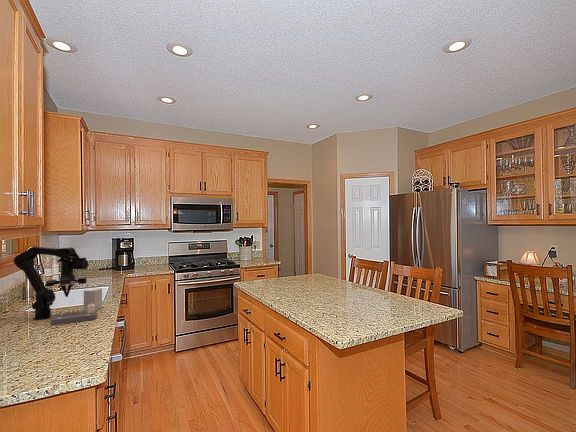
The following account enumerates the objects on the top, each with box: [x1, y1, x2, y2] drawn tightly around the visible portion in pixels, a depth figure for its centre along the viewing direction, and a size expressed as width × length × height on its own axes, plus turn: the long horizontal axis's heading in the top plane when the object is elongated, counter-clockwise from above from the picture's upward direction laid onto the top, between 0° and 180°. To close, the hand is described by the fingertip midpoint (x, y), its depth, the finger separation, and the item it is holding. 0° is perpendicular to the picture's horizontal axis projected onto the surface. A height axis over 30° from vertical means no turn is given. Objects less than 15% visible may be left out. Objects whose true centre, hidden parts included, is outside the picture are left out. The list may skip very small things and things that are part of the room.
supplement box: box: [83, 287, 103, 311], centre depth 194 cm, size 7×7×13 cm
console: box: [50, 310, 98, 326], centre depth 173 cm, size 20×12×3 cm, turn 118°
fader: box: [88, 303, 95, 313], centre depth 177 cm, size 3×5×4 cm, turn 28°
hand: (66, 296), depth 177 cm, fingers closed
